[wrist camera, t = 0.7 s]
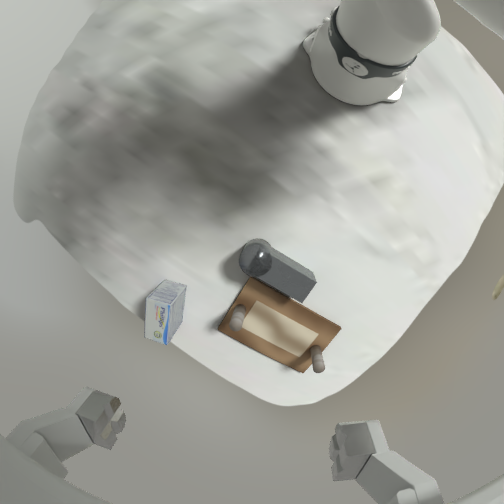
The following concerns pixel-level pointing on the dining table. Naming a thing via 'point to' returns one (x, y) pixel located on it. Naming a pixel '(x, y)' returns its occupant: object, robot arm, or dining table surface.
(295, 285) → the grey round-headed bar
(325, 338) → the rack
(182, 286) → the medicine box
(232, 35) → the dining table surface
